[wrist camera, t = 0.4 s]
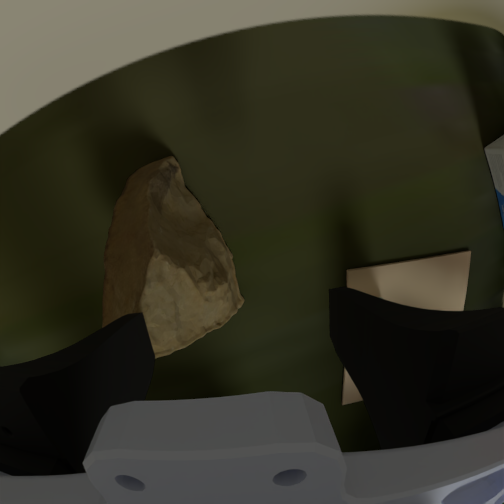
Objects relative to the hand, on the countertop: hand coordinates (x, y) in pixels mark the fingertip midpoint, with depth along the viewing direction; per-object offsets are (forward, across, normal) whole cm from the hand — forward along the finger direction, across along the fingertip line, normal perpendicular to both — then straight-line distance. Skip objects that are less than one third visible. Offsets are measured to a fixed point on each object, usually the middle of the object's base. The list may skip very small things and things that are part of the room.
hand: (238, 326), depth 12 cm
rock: (+10, +3, -2) cm, 11 cm away
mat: (+10, -14, +9) cm, 19 cm away
